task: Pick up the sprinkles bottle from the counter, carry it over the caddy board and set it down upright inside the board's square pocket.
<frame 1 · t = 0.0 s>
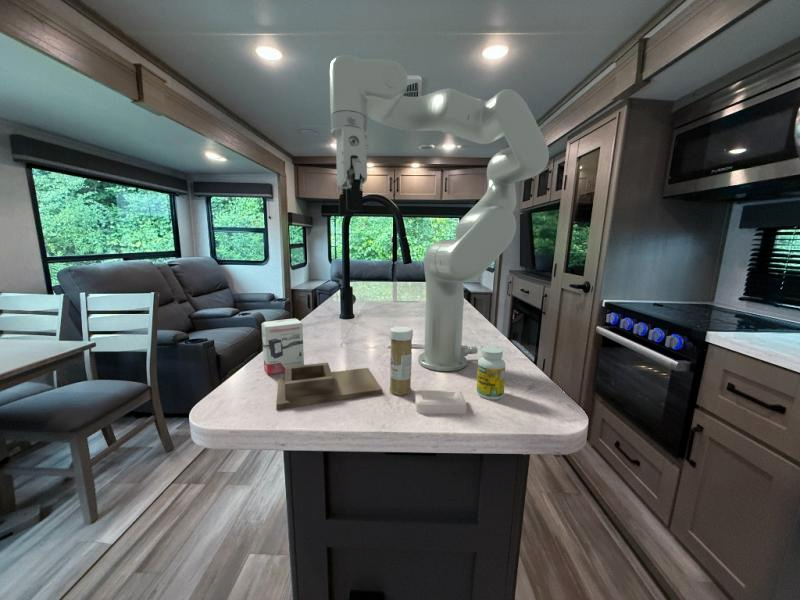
hand: (350, 213, 66), 37 cm above the countertop, tool pointing down, fingers open, 9 cm apart
white soap dish: (439, 408, 57), on the countertop
ink box: (284, 369, 74), on the countertop
supplement bottle: (489, 395, 62), on the countertop
caddy board: (328, 388, 64), on the countertop
sprinkles bottle: (400, 392, 63), on the countertop
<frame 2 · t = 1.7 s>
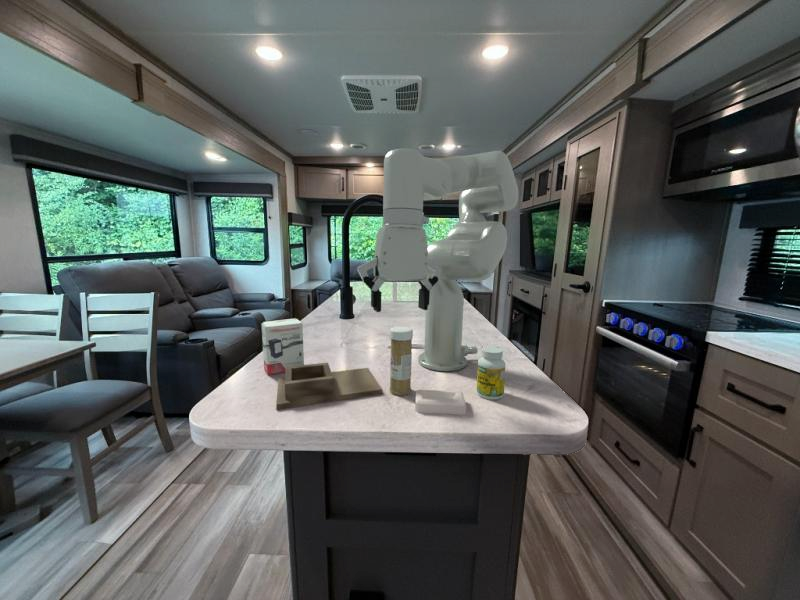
hand: (400, 309, 60), 17 cm above the countertop, tool pointing down, fingers open, 9 cm apart
nothing on the countertop moved.
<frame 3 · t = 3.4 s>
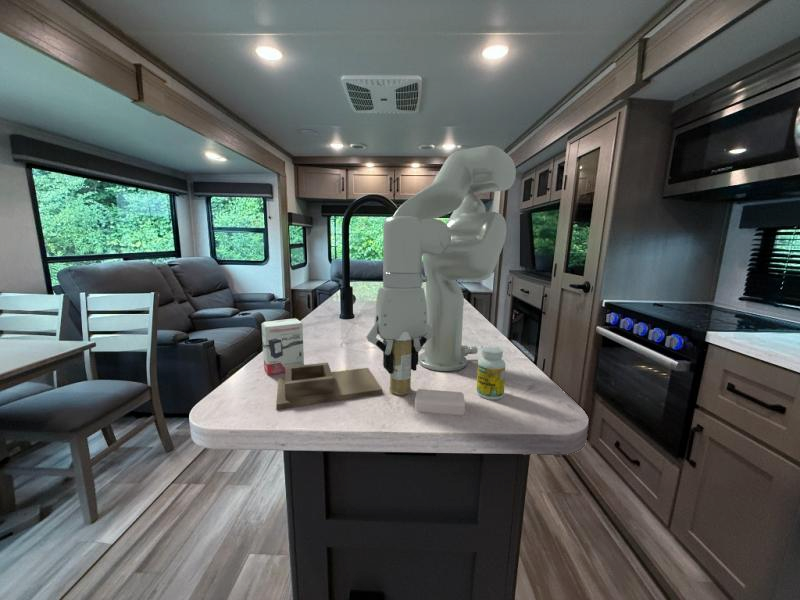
hand: (400, 368, 62), 5 cm above the countertop, tool pointing down, fingers closed on sprinkles bottle, 4 cm apart
sprinkles bottle: (400, 391, 63), on the countertop, touching gripper
everything else where it was.
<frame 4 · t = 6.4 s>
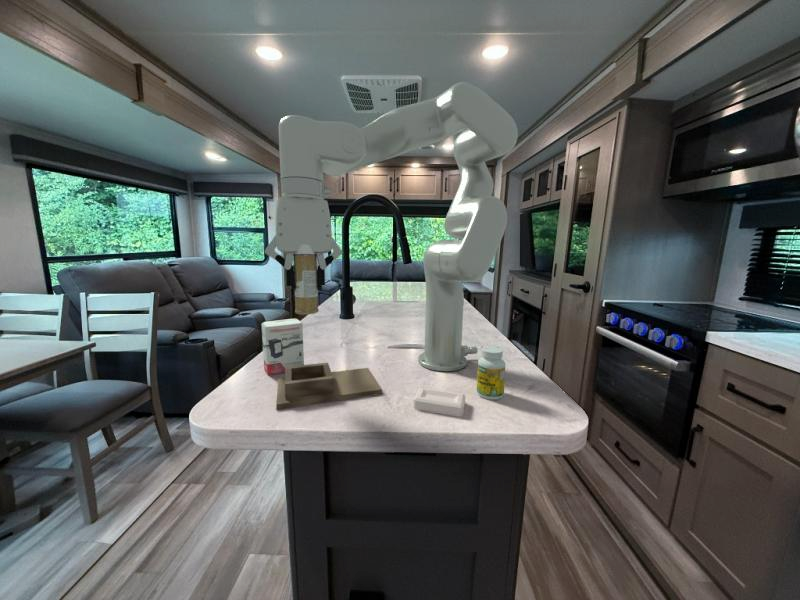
hand: (306, 288, 59), 21 cm above the countertop, tool pointing down, fingers closed on sprinkles bottle, 4 cm apart
sprinkles bottle: (307, 313, 60), point 16 cm above the countertop, touching gripper
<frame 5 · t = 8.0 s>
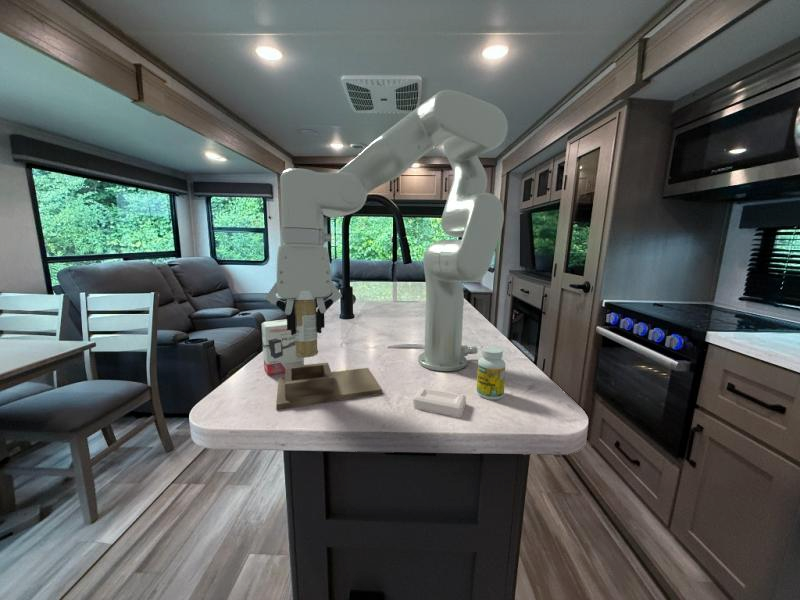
hand: (306, 331, 61), 13 cm above the countertop, tool pointing down, fingers closed on sprinkles bottle, 4 cm apart
sprinkles bottle: (306, 355, 61), point 8 cm above the countertop, touching gripper
when the fingers open (7 cm above the countertop, at t = 9.4 s): sprinkles bottle drops 1 cm, resting on caddy board.
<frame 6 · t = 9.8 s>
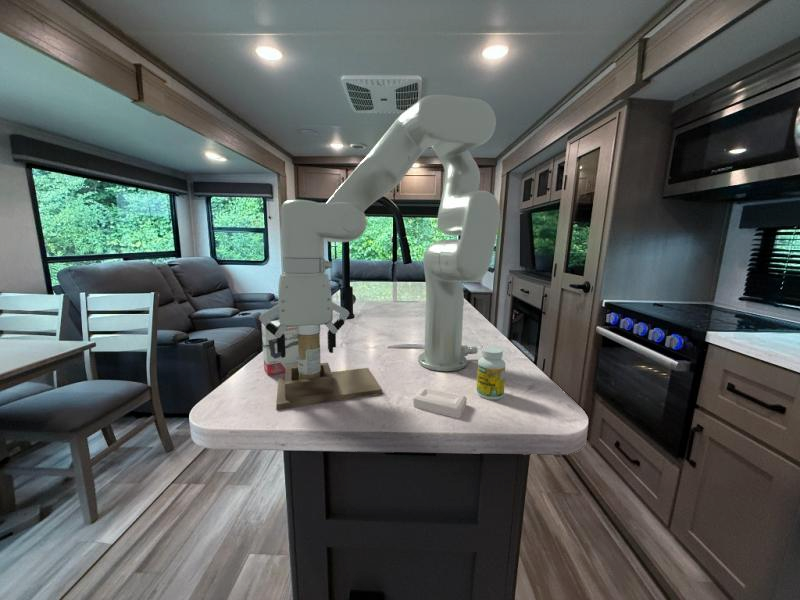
hand: (307, 352, 61), 8 cm above the countertop, tool pointing down, fingers open, 8 cm apart
sprinkles bottle: (310, 386, 63), point 1 cm above the countertop, touching caddy board
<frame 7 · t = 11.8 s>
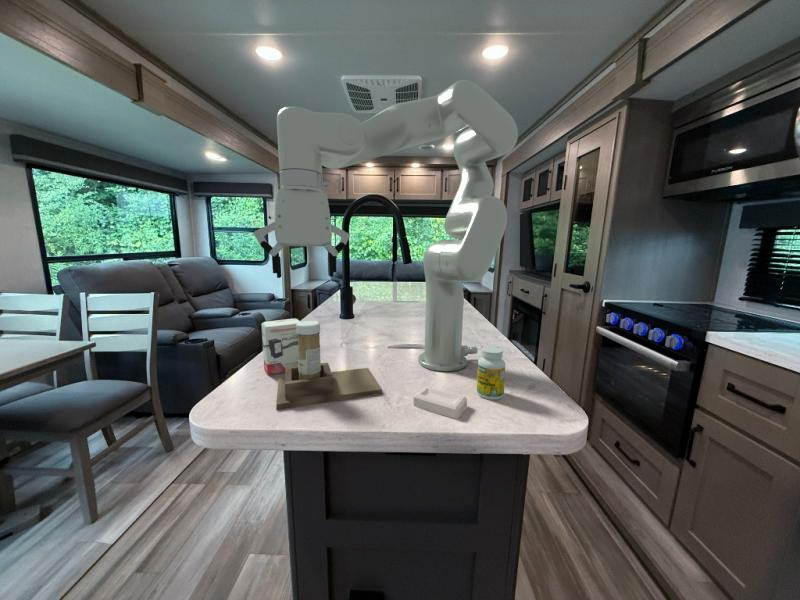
hand: (305, 276, 59), 24 cm above the countertop, tool pointing down, fingers open, 9 cm apart
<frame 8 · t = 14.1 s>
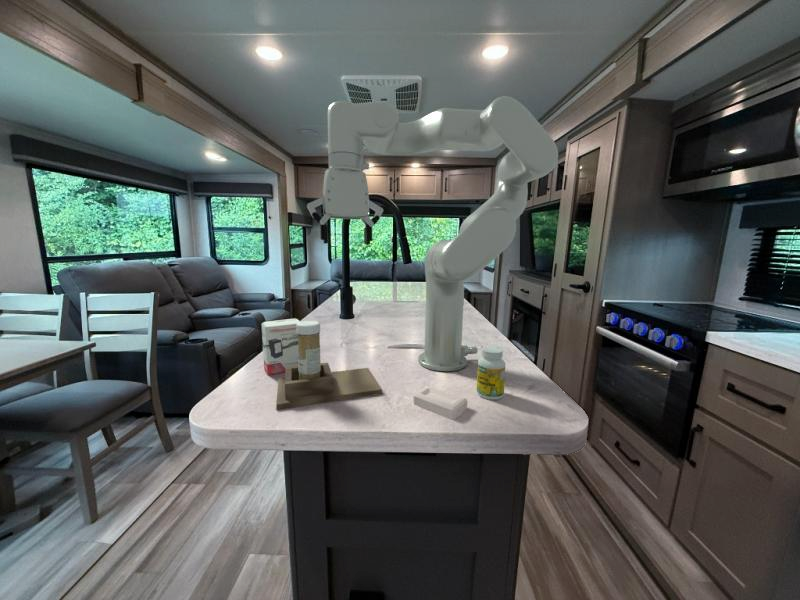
hand: (346, 243, 70), 30 cm above the countertop, tool pointing down, fingers open, 9 cm apart
at the end: sprinkles bottle 0.3 cm from the target spot on the caddy board, point 0.8 cm above the caddy board's base; sprinkles bottle tilted 0°; the gripper is holding nothing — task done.
